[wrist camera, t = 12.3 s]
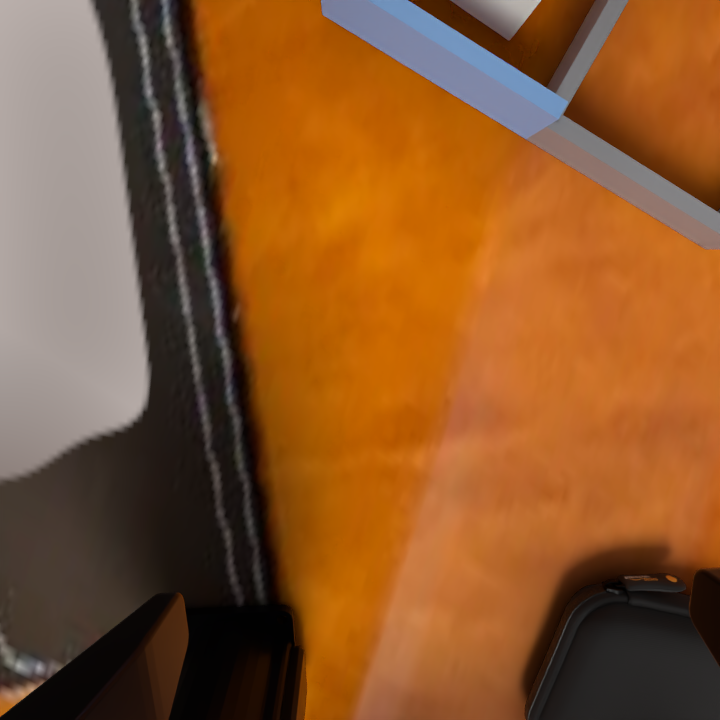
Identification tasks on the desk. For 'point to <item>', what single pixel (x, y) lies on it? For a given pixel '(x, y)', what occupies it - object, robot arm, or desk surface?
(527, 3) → the white rectangular block
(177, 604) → the robot arm
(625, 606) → the carrying case or bag
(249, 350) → the desk surface
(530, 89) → the organizer
